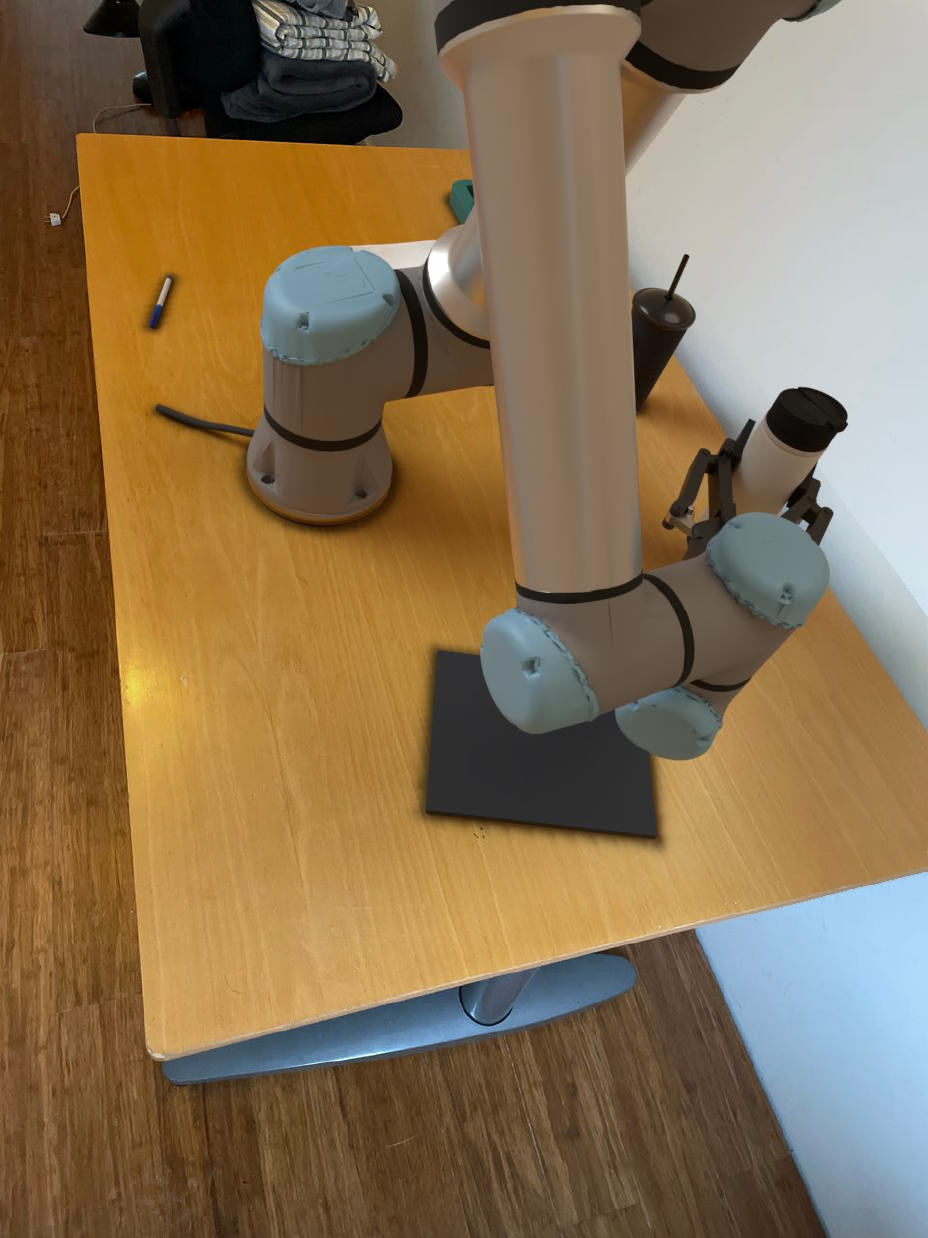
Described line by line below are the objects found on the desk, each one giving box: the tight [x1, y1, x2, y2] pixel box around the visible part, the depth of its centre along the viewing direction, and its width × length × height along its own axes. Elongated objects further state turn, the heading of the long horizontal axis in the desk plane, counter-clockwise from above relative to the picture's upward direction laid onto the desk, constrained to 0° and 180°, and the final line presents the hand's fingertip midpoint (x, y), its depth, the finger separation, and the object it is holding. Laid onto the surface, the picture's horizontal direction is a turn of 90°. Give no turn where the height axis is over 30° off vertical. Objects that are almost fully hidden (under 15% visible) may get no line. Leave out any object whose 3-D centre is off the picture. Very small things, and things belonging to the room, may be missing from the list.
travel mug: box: [696, 386, 849, 523], centre depth 79 cm, size 6×7×20 cm
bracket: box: [449, 178, 475, 225], centre depth 121 cm, size 18×7×8 cm, turn 18°
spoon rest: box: [348, 239, 437, 269], centre depth 106 cm, size 24×12×7 cm, turn 110°
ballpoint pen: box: [149, 275, 173, 329], centre depth 99 cm, size 10×1×1 cm, turn 2°
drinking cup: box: [631, 253, 697, 412], centre depth 97 cm, size 8×8×20 cm
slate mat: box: [424, 649, 658, 839], centre depth 73 cm, size 20×16×1 cm
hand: (778, 445), depth 82 cm, fingers closed on travel mug, 6 cm apart
